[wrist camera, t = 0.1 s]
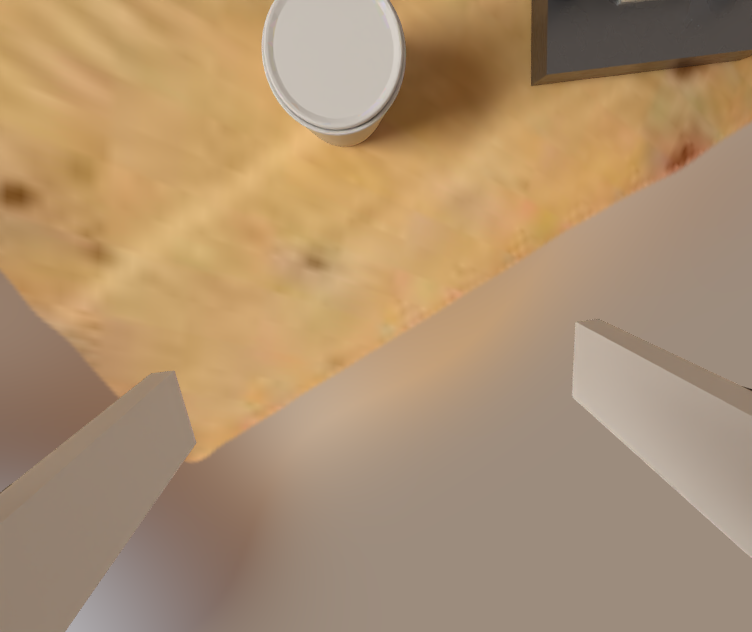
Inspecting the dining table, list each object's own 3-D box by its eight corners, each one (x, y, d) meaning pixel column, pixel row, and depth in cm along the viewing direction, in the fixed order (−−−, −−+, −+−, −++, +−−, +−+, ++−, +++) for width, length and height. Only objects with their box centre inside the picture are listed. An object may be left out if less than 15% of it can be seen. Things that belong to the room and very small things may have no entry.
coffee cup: (408, 75, 34) (432, 8, 22) (367, 173, 36) (371, 157, 25) (314, 24, 33) (289, -75, 21) (278, 129, 35) (238, 91, 23)
